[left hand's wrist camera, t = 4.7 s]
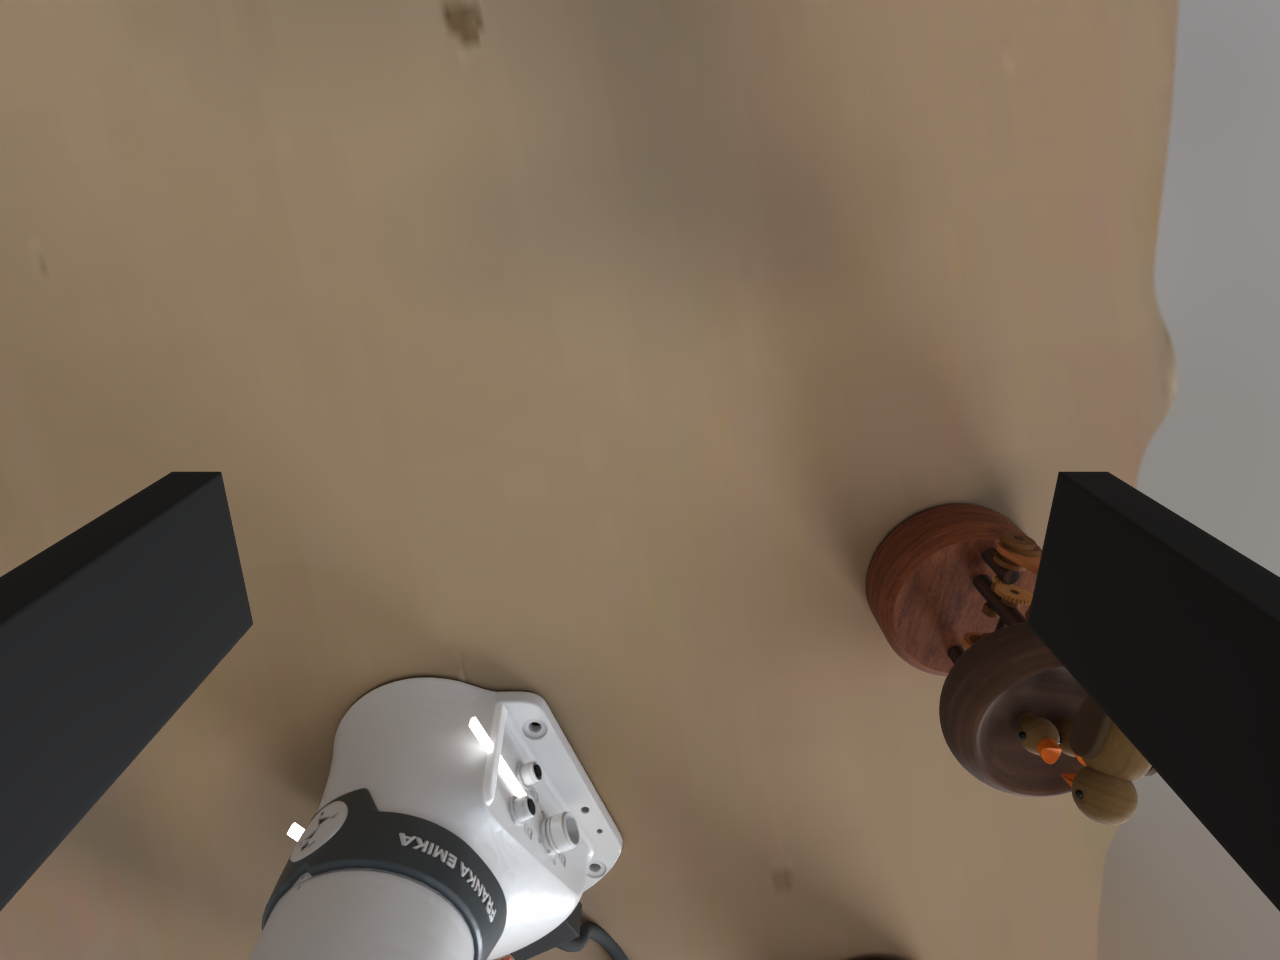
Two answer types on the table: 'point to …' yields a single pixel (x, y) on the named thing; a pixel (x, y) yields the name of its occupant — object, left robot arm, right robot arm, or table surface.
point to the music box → (997, 662)
